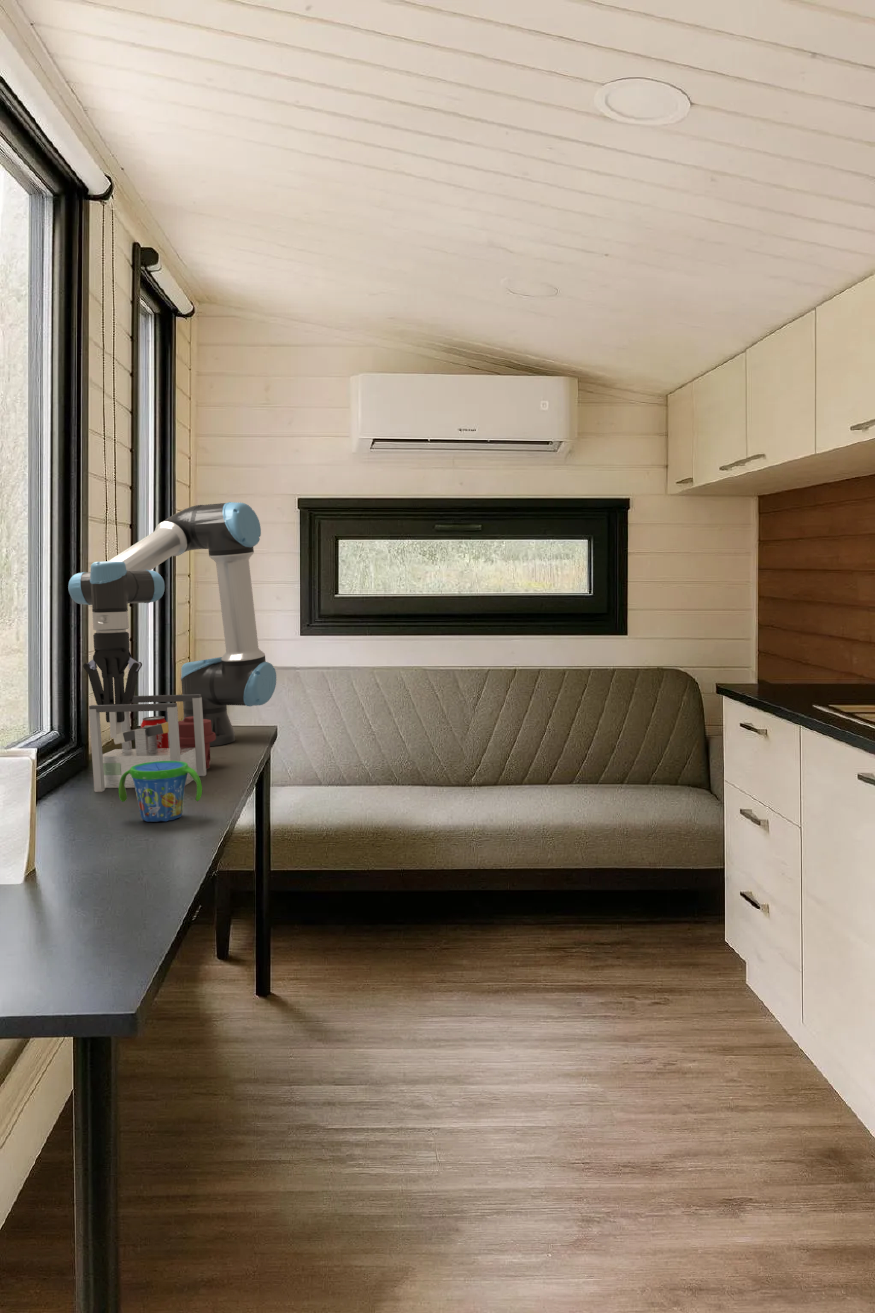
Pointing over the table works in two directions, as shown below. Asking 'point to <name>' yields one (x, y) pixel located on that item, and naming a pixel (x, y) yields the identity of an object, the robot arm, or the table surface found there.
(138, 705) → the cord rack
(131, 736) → the lever
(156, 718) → the soda can
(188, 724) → the mechanical component
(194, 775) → the snack cup
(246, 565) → the robot arm
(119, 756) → the grey box
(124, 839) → the table surface
